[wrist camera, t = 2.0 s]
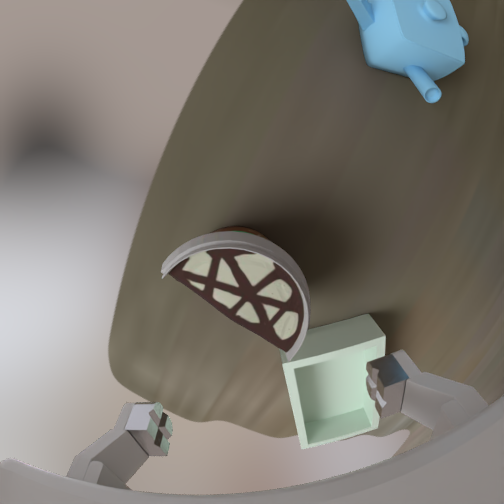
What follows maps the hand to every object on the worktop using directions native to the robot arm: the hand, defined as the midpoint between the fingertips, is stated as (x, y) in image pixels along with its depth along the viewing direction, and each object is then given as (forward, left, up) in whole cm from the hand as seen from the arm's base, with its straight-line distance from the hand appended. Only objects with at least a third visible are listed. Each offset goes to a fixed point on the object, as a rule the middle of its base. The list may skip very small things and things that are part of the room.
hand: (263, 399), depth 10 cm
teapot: (-19, -20, -20) cm, 34 cm away
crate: (-6, +19, -20) cm, 28 cm away
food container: (0, 0, -20) cm, 20 cm away
